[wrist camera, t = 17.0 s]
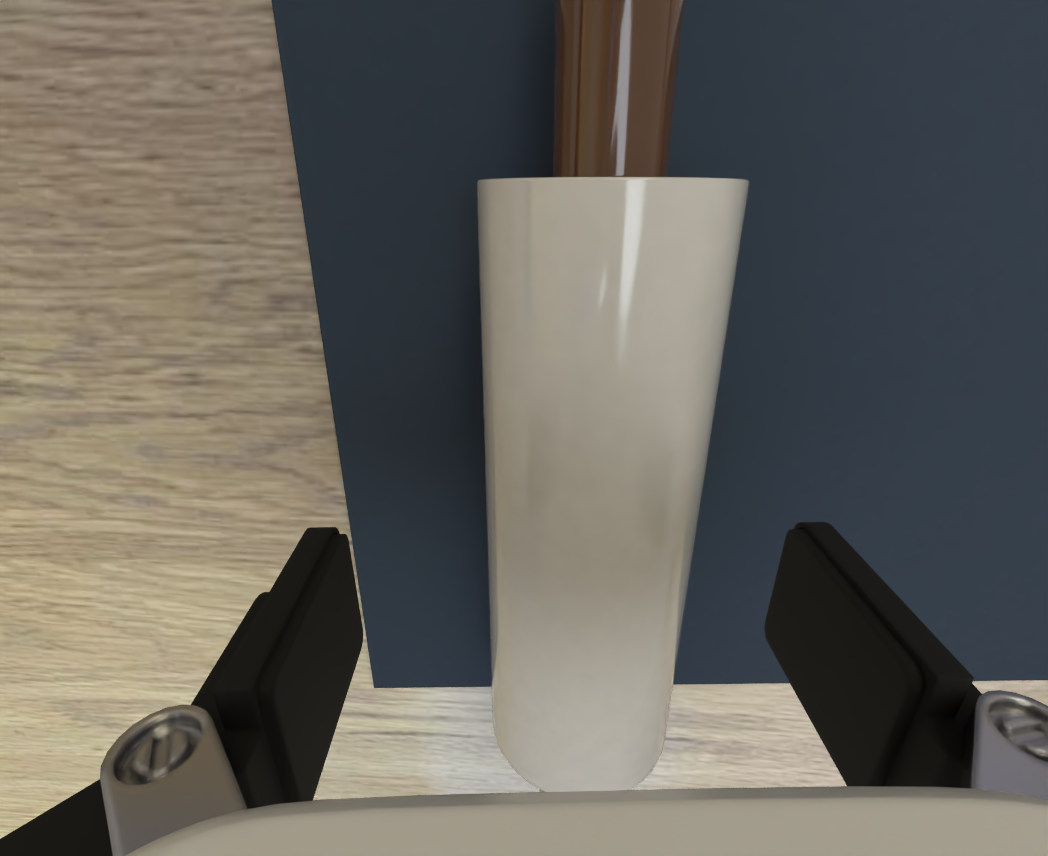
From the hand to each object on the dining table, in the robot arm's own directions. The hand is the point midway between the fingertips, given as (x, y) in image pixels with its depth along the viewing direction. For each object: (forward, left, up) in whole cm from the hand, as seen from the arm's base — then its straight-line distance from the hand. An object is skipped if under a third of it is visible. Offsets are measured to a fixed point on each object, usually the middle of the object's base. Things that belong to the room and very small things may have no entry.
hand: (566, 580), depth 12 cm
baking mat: (+4, +6, -6) cm, 10 cm away
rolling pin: (0, 0, -6) cm, 6 cm away
